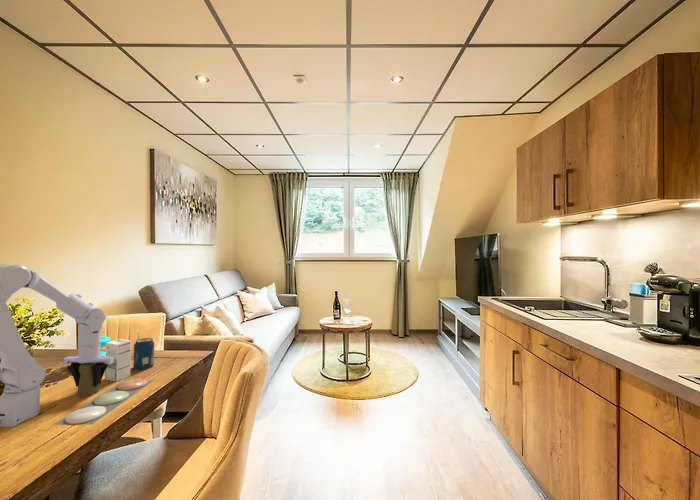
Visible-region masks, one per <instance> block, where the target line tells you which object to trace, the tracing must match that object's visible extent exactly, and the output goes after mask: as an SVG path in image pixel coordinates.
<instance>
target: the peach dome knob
mask: <svg viewBox="0 0 700 500" xmlns="http://www.w3.org/2000/svg"><path fill="white" fill-rule="evenodd" d="M126 380H127V381H125V380H124V381H121V382H119V383H118V384H117V385H116V386H117V390H120V391H128V390H134V389H138V388H141V387H143V386H145V385H147V383H148V380H149V379H146V378H132V379H126ZM147 386H148V385H147Z"/></svg>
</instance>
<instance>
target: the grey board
mask: <svg viewBox="0 0 700 500" xmlns="http://www.w3.org/2000/svg"><path fill="white" fill-rule="evenodd" d="M127 380H128V379H126V380H124V381H127ZM147 380H148V383H147V385H145V386H143V387H141V388H138V389H134V390H128V391H126V392H128V393H129V397H128V398H127V399H125V400H124V401H121V402H119V403H115V404H111V405H104V406H103V407H105V408H106V413H105V414H104V415H103V416H101V417H99V418H97V419H95V420H92V421H89V422H85V423H80V424H79V425H94V424H95V423H96V422H97V421H99V420H101V419H102V418H104V416H106V415H108V414H109V413H110V412H112V411H113V410H115V409H116V408H117V407H119V406H120V405H122V404H123V403H124V402H125V401H127V400H129V399H130V398H132V397H133V396H134V395H136V394H138V393H139V392H140V391H141V390H143V389H144V388H145V387H147V386H149V385H150V384H151V383H152V382H154V381H155V379H150V380H149V379H147ZM114 391H120V390H117V385H116V386H114V387H113V388H111V389H109V390H107V391H106V392H104V393H103V394H105V393H109V392H114ZM91 406H99V405H95V404H94V399H93V400H91V401H90V402H88V403H86V404H85V405H83V406H81V407H79V409H82V408H86V407H91ZM79 409H77V410H79ZM65 418H66V416H65V417H64V418H62V419H60V420H59V421H57V422H55V423H54V425H69V424H68V423H66V422H65Z"/></svg>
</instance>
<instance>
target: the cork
mask: <svg viewBox="0 0 700 500" xmlns="http://www.w3.org/2000/svg"><path fill="white" fill-rule="evenodd" d="M94 365H96V364H94V363H83V364H81V365H80V366H79V373H80V374H81V375H80V380H79V386H78V387H77V392H76V396H77V397H79V398H84V397H90V396H92V395H93V396H94V395H96V394H98V393H99V392H100V388H99V386H100V385H98V386H96V387H94V385H93V372H92V369H91V367H92V366H94Z"/></svg>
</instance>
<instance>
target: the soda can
mask: <svg viewBox="0 0 700 500" xmlns="http://www.w3.org/2000/svg"><path fill="white" fill-rule="evenodd" d="M154 361H155V342H154V339H153V338H151V337H150V338H149V337H146V338H145V337H143V338H139V339H136V340H135V343H134V345H133V362H132V363H133V367H132V368H133V370H135V371H144V370H149V369H152V368H153V367H154V364H155V362H154Z"/></svg>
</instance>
